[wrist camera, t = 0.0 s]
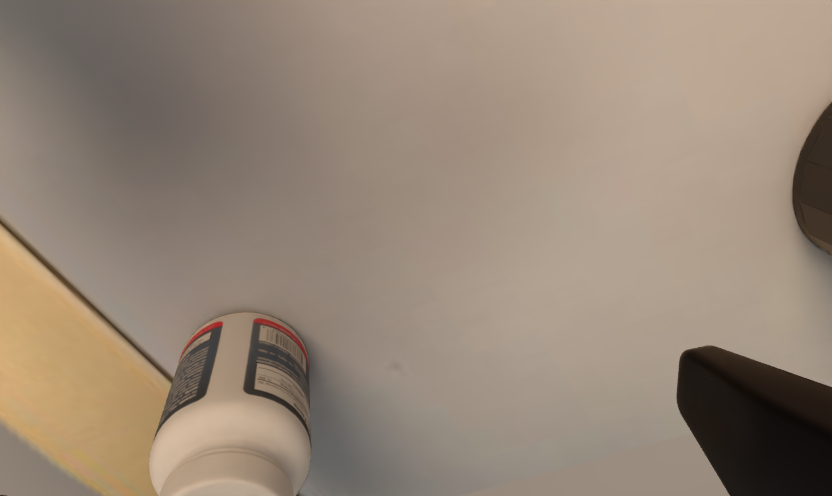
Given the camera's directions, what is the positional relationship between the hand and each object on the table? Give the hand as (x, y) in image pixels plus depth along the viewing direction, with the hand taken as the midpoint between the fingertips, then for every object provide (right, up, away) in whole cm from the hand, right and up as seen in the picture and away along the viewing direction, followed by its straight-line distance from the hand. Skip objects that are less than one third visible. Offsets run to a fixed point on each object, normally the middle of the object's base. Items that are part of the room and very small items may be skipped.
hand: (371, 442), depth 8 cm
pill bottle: (-7, -2, +17) cm, 19 cm away
